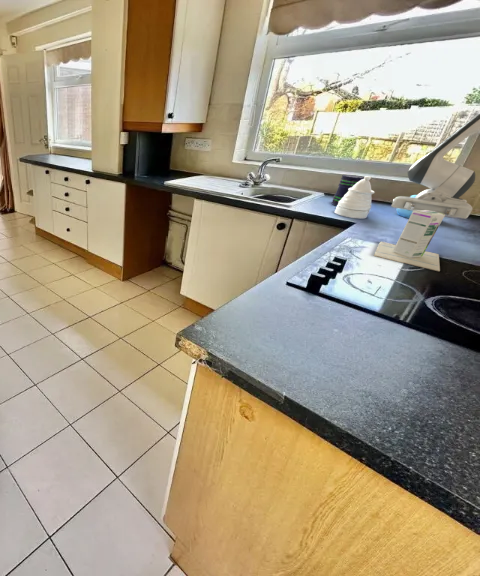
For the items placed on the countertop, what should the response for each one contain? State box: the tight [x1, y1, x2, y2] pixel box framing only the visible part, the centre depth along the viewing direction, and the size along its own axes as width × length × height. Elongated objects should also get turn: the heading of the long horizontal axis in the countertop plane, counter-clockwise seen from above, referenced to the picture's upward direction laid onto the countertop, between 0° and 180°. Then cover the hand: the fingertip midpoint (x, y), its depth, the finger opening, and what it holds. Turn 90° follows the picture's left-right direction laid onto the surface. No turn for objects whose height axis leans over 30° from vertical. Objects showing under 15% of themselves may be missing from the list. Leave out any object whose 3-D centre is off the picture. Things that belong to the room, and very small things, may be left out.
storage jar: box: [331, 174, 365, 206], centre depth 169 cm, size 10×10×15 cm
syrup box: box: [393, 210, 445, 258], centre depth 103 cm, size 6×6×14 cm
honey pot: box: [334, 175, 376, 220], centre depth 149 cm, size 13×13×18 cm
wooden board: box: [373, 241, 441, 272], centre depth 107 cm, size 16×20×1 cm
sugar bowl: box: [396, 194, 418, 219], centre depth 153 cm, size 15×15×12 cm
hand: (429, 210), depth 108 cm, fingers open, 8 cm apart
